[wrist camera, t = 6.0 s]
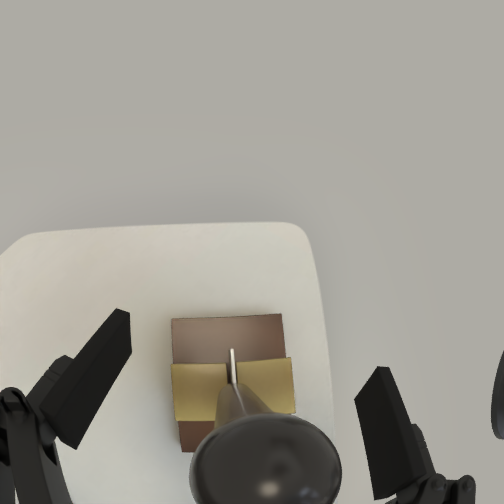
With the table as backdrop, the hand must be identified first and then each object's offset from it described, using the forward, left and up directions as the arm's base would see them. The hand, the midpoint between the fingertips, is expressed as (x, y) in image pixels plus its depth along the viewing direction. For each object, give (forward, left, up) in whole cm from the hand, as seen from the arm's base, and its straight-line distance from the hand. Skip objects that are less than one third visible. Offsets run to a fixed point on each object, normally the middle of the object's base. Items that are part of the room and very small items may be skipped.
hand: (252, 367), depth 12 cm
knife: (-2, +1, -10) cm, 10 cm away
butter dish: (-2, +1, -15) cm, 15 cm away
